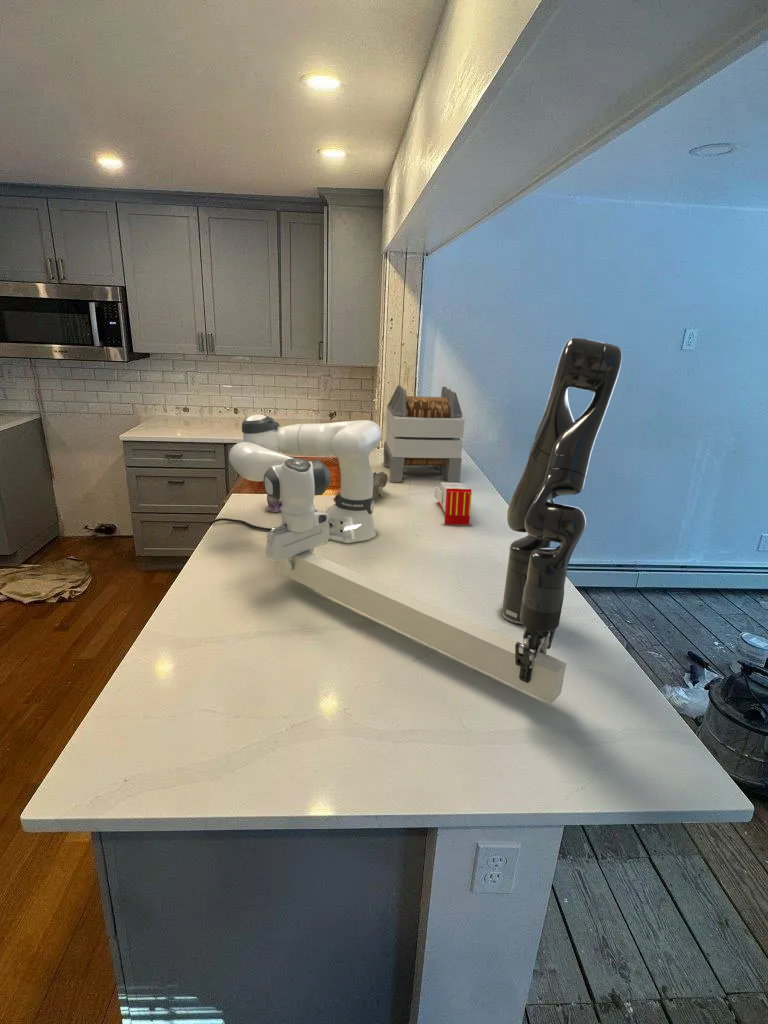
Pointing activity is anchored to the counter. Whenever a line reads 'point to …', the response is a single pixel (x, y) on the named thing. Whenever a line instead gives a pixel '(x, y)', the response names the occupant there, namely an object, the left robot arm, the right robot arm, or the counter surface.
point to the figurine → (273, 504)
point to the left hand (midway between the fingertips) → (298, 566)
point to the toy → (454, 502)
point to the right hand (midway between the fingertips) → (530, 674)
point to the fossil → (379, 482)
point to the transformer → (424, 434)
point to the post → (428, 624)
